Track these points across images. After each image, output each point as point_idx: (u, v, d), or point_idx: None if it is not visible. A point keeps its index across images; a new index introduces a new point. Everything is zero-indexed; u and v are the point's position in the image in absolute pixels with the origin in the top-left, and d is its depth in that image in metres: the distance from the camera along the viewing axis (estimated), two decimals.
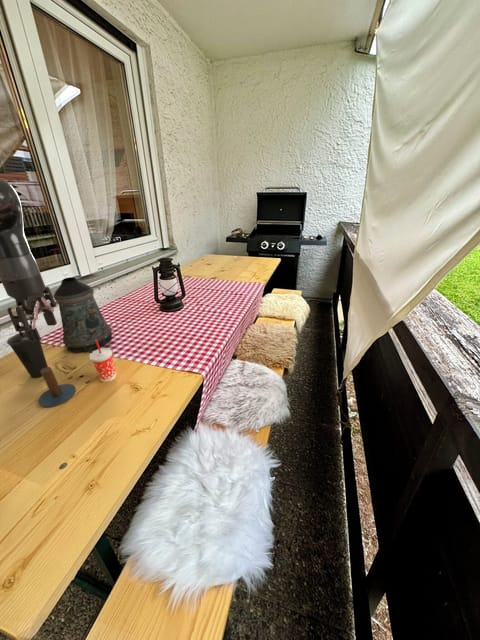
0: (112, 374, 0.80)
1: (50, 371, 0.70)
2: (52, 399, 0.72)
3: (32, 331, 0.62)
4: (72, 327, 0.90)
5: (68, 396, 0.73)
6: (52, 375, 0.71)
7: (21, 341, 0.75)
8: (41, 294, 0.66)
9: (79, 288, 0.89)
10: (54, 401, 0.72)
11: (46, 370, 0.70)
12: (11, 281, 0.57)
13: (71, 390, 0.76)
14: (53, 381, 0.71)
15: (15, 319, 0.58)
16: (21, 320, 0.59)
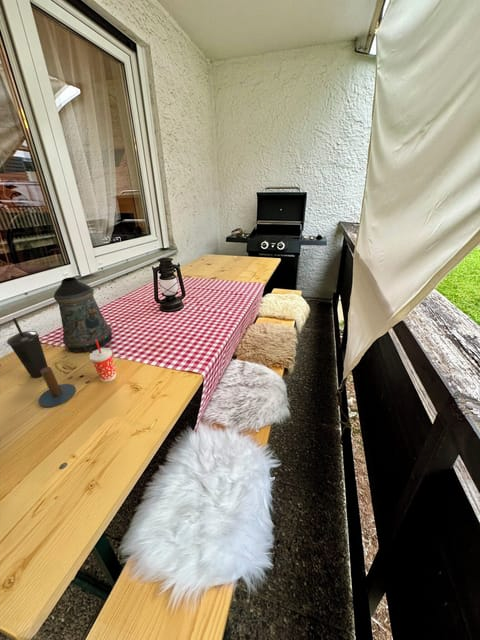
0: (112, 374, 0.80)
1: (50, 371, 0.70)
2: (52, 399, 0.72)
3: None
4: (72, 327, 0.90)
5: (68, 396, 0.73)
6: (52, 375, 0.71)
7: (21, 340, 0.75)
8: None
9: (79, 288, 0.89)
10: (54, 401, 0.72)
11: (46, 370, 0.70)
12: None
13: (71, 390, 0.76)
14: (53, 381, 0.71)
15: None
16: None
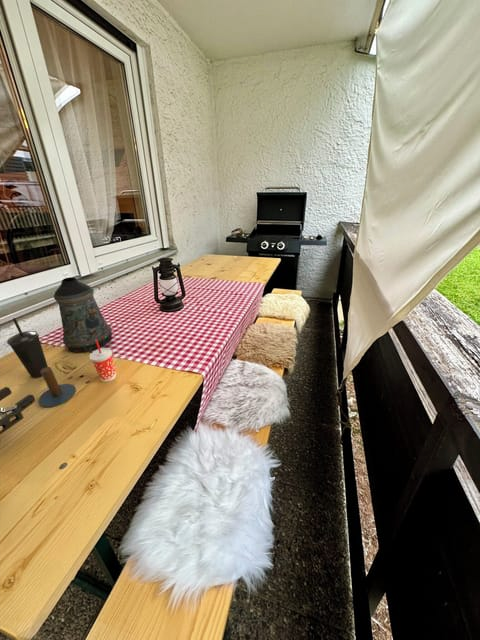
0: (112, 374, 0.80)
1: (50, 371, 0.70)
2: (52, 399, 0.72)
3: None
4: (72, 327, 0.90)
5: (68, 396, 0.73)
6: (52, 375, 0.71)
7: (21, 340, 0.75)
8: None
9: (79, 288, 0.89)
10: (54, 401, 0.72)
11: (46, 370, 0.70)
12: None
13: (71, 390, 0.76)
14: (53, 381, 0.71)
15: None
16: None
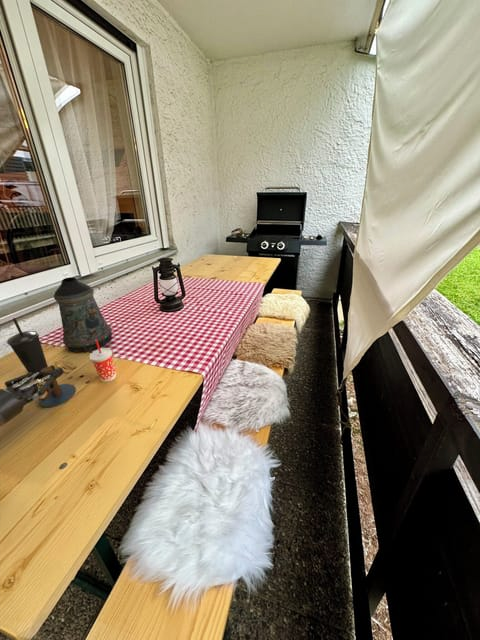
0: (112, 374, 0.80)
1: (50, 371, 0.70)
2: (52, 399, 0.72)
3: None
4: (72, 327, 0.90)
5: (68, 396, 0.73)
6: None
7: (21, 340, 0.75)
8: None
9: (79, 288, 0.89)
10: (54, 401, 0.72)
11: (46, 370, 0.70)
12: None
13: (71, 390, 0.76)
14: None
15: None
16: None
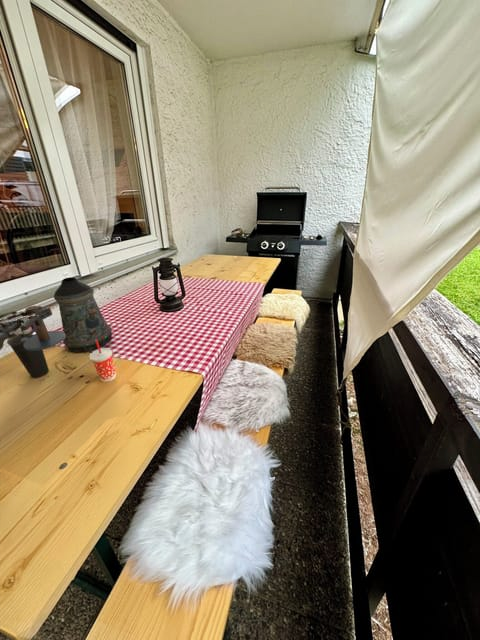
0: (112, 374, 0.80)
1: (36, 310, 0.63)
2: (39, 343, 0.65)
3: None
4: (72, 327, 0.90)
5: (57, 340, 0.66)
6: None
7: (21, 341, 0.75)
8: None
9: (79, 288, 0.89)
10: (41, 345, 0.65)
11: (32, 308, 0.63)
12: None
13: (60, 336, 0.68)
14: None
15: None
16: None
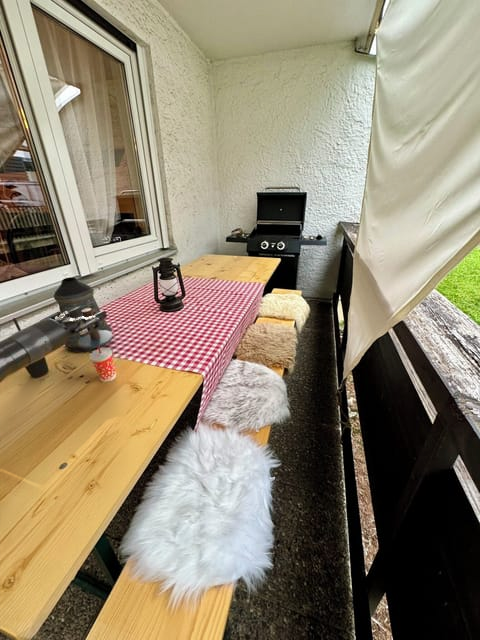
0: (112, 374, 0.80)
1: (91, 312, 0.71)
2: (92, 342, 0.73)
3: None
4: None
5: (107, 339, 0.74)
6: None
7: None
8: None
9: (79, 288, 0.89)
10: (94, 343, 0.72)
11: (87, 310, 0.70)
12: None
13: (109, 335, 0.76)
14: None
15: None
16: None
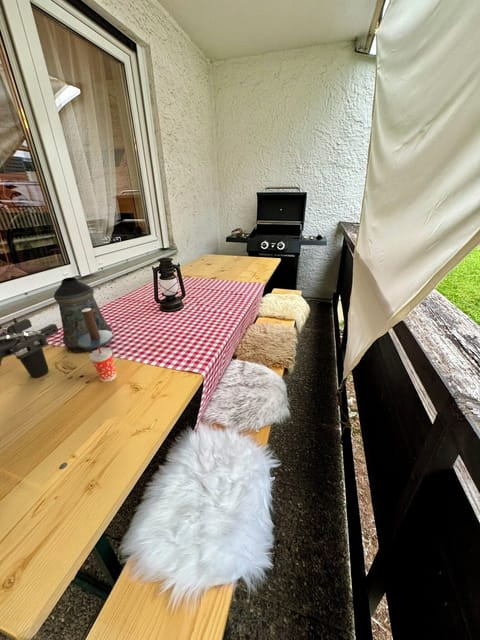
0: (112, 374, 0.80)
1: (91, 312, 0.71)
2: (92, 342, 0.73)
3: None
4: (72, 327, 0.90)
5: (107, 339, 0.74)
6: (92, 316, 0.71)
7: None
8: None
9: (79, 288, 0.89)
10: (94, 343, 0.72)
11: (87, 310, 0.70)
12: None
13: (109, 335, 0.76)
14: (93, 323, 0.72)
15: None
16: None
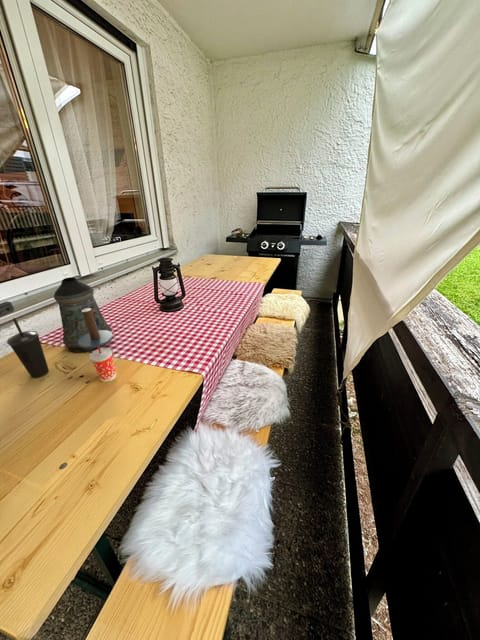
0: (112, 374, 0.80)
1: (91, 312, 0.71)
2: (92, 342, 0.73)
3: None
4: (72, 327, 0.90)
5: (107, 339, 0.74)
6: (92, 316, 0.71)
7: (21, 340, 0.75)
8: None
9: (79, 288, 0.89)
10: (94, 343, 0.72)
11: (87, 310, 0.70)
12: None
13: (109, 335, 0.76)
14: (93, 323, 0.72)
15: None
16: None
